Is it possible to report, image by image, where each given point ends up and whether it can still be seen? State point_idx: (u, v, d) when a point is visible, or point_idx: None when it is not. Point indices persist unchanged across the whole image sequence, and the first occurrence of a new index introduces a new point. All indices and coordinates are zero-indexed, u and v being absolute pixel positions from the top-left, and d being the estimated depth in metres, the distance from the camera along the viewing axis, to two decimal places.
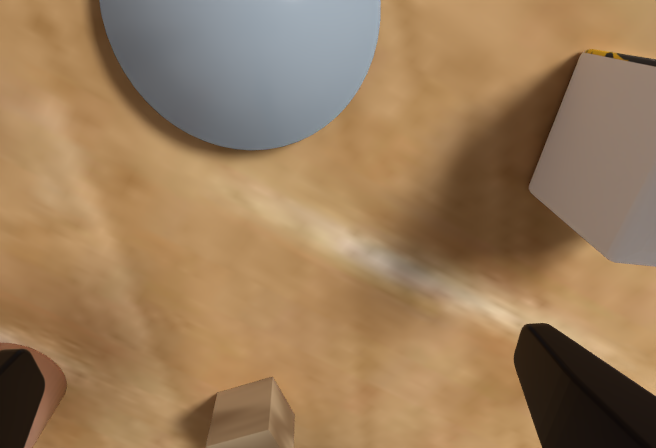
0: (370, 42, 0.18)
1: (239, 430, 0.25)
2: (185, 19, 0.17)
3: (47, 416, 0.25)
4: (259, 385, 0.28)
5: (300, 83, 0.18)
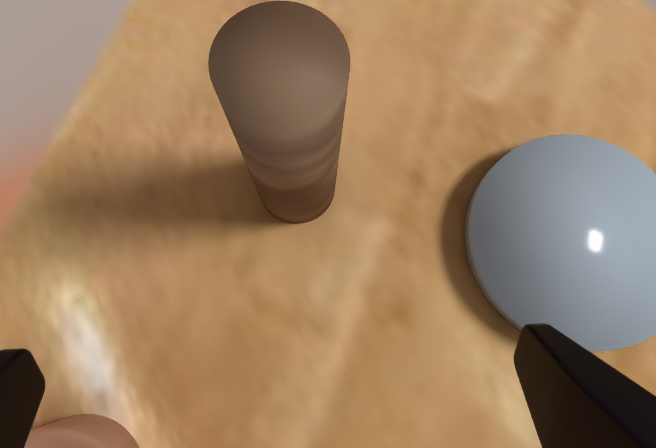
0: None
1: None
2: (538, 217, 0.21)
3: None
4: None
5: (609, 302, 0.20)
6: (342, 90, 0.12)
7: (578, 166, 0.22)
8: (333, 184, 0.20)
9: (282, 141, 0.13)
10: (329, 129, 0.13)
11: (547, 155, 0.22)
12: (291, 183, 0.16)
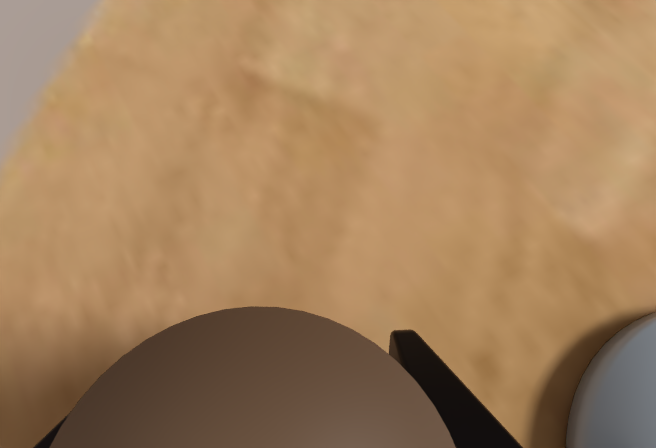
0: None
1: None
2: None
3: None
4: None
5: None
6: None
7: None
8: None
9: None
10: None
11: None
12: None
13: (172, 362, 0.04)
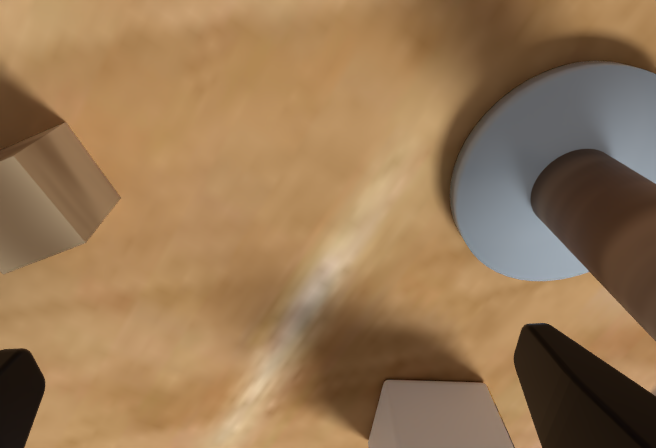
0: (530, 277, 0.23)
1: (60, 199, 0.17)
2: (585, 142, 0.19)
3: None
4: (106, 186, 0.20)
5: (511, 231, 0.21)
6: None
7: None
8: None
9: None
10: None
11: None
12: (615, 276, 0.15)
13: None
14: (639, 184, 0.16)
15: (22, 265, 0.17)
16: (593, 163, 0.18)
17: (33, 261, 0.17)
